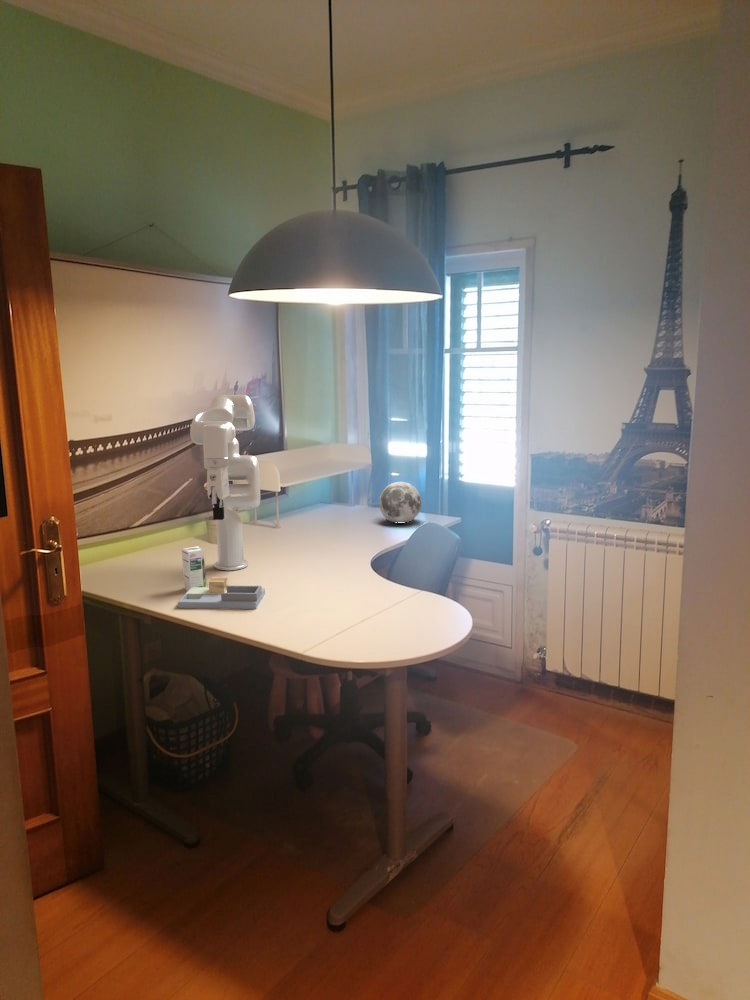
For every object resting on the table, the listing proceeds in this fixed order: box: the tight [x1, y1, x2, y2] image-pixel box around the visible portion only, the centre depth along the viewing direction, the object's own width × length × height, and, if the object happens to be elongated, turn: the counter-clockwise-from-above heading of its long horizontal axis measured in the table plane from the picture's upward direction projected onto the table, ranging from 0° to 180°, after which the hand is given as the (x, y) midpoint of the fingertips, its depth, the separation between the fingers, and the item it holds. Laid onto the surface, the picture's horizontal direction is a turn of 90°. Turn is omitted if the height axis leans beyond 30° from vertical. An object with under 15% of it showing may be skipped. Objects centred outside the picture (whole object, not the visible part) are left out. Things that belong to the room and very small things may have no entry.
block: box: [208, 576, 229, 593], centre depth 244 cm, size 5×5×4 cm
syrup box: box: [181, 545, 207, 592], centre depth 251 cm, size 6×6×14 cm
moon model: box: [378, 481, 422, 524], centre depth 348 cm, size 20×20×20 cm
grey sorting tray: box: [177, 584, 266, 610], centre depth 240 cm, size 15×25×4 cm, turn 88°
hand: (218, 519), depth 237 cm, fingers closed
